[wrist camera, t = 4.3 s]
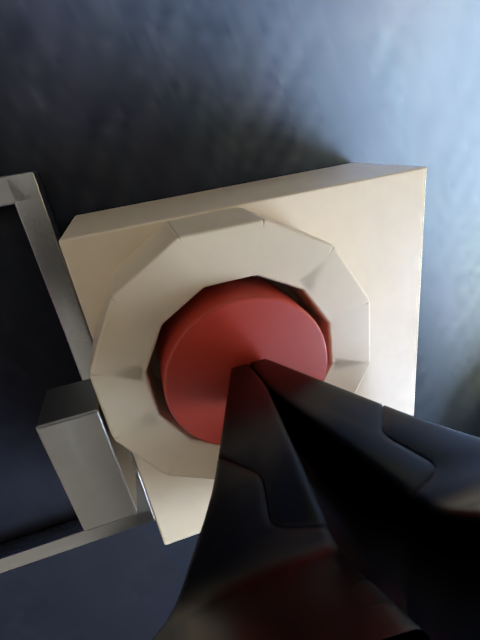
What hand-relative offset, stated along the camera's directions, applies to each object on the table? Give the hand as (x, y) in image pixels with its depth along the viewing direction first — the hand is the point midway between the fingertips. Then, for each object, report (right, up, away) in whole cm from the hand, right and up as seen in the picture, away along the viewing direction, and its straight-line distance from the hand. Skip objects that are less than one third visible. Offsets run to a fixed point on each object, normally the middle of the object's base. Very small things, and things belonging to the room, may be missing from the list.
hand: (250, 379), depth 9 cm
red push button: (0, +1, +2) cm, 2 cm away
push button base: (0, +1, +7) cm, 7 cm away
